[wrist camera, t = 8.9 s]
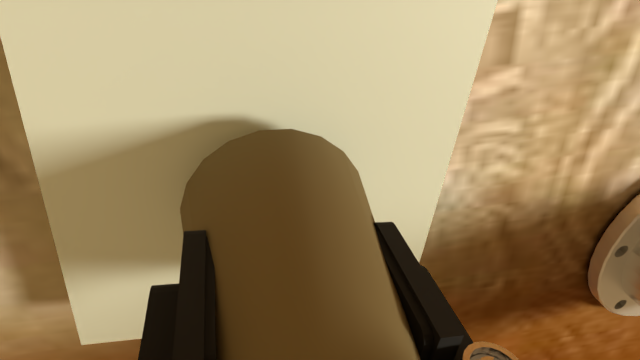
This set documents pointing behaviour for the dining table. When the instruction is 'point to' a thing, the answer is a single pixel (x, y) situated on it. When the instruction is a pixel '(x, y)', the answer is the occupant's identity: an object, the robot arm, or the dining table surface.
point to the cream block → (223, 116)
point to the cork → (294, 253)
